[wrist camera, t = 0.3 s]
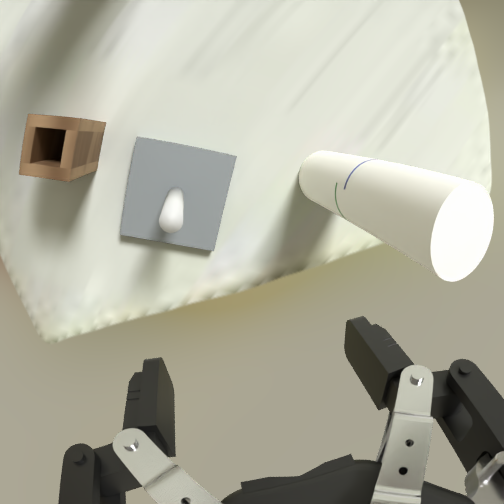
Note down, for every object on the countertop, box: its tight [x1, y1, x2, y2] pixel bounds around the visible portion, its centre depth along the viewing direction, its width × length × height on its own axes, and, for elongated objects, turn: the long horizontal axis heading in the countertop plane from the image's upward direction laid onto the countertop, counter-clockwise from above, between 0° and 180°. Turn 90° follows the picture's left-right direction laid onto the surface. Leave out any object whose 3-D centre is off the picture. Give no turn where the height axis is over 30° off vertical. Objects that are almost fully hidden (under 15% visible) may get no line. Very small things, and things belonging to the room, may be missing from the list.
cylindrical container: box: [299, 151, 494, 281], centre depth 29 cm, size 7×7×25 cm
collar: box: [19, 114, 106, 182], centre depth 28 cm, size 6×6×10 cm
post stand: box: [120, 137, 237, 251], centre depth 31 cm, size 12×12×14 cm
